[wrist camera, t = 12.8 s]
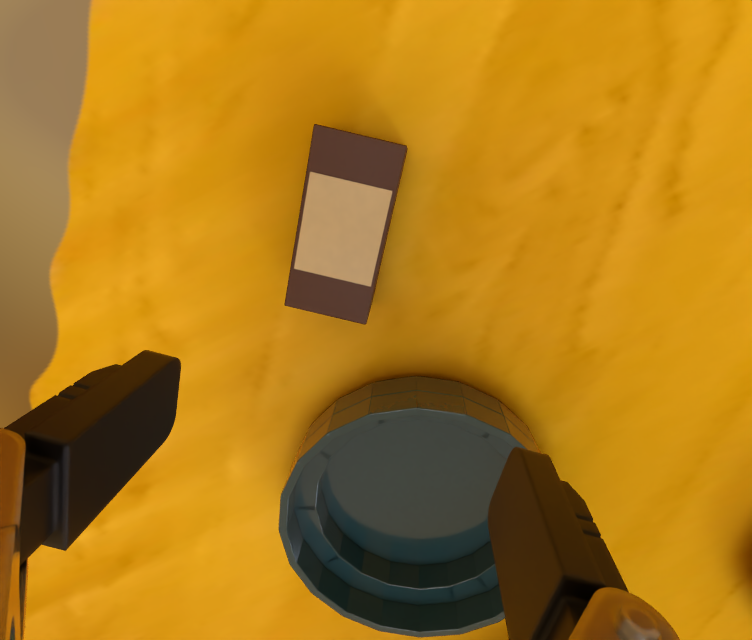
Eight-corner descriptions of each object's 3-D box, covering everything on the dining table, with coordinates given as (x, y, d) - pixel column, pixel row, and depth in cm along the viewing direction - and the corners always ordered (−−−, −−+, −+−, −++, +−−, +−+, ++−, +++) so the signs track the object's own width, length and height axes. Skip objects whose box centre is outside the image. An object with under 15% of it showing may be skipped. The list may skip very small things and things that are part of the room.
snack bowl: (415, 320, 28) (416, 349, 23) (597, 487, 30) (626, 539, 26) (248, 482, 32) (224, 529, 28) (418, 613, 35) (420, 673, 31)
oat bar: (326, 128, 25) (313, 123, 21) (407, 147, 25) (407, 145, 21) (298, 288, 28) (283, 306, 24) (371, 305, 28) (365, 325, 24)
